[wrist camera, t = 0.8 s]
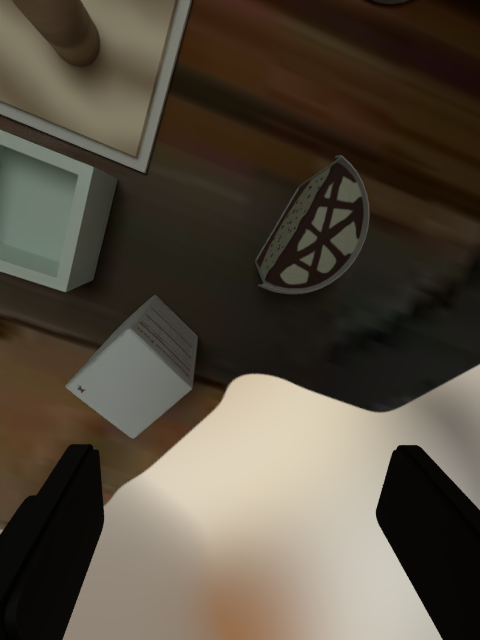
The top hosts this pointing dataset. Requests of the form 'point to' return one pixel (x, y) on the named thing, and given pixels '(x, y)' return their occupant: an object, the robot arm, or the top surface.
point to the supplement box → (139, 369)
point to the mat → (153, 116)
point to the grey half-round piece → (317, 232)
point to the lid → (85, 63)
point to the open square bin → (50, 214)
